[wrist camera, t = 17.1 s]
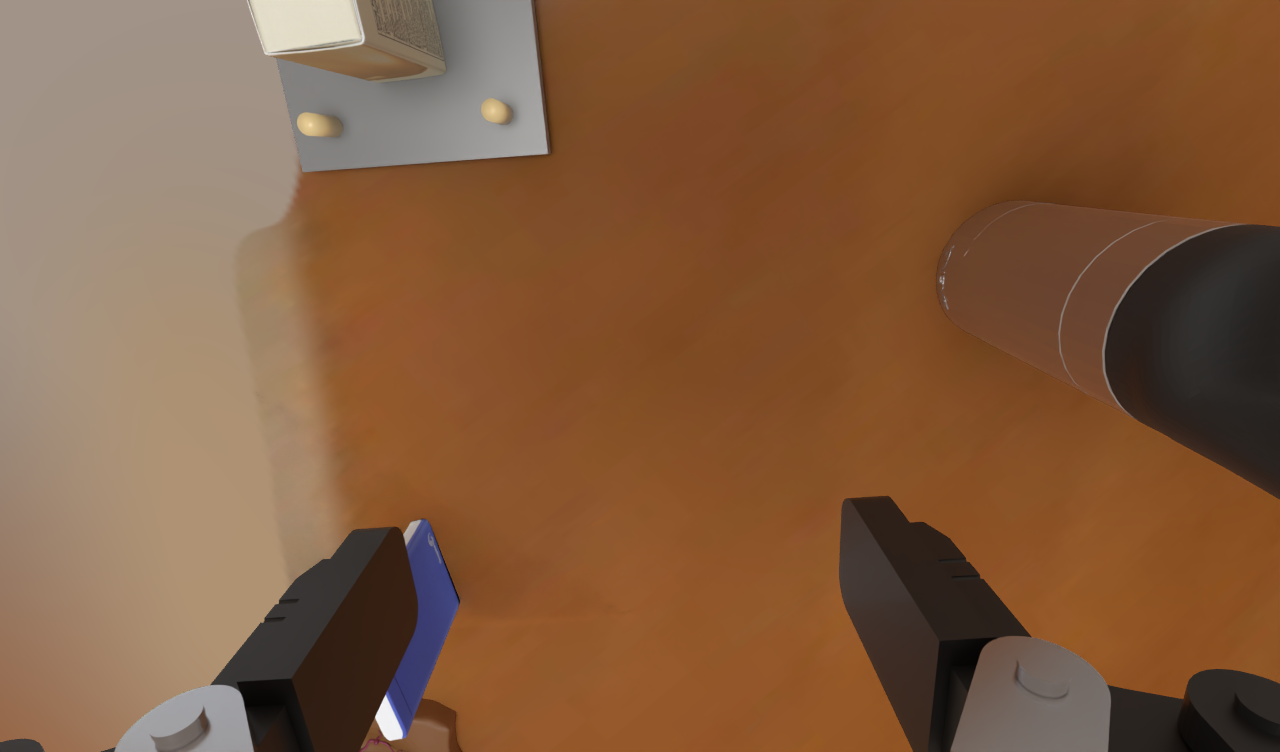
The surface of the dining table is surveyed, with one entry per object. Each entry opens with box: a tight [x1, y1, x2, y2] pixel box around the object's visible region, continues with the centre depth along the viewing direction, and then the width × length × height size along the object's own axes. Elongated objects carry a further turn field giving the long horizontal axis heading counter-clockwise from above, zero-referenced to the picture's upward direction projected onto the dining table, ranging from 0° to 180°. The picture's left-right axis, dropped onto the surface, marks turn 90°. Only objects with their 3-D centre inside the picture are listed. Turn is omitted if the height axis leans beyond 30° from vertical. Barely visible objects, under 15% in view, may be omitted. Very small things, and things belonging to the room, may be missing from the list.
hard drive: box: [375, 519, 460, 741], centre depth 43 cm, size 2×8×12 cm, turn 13°
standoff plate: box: [276, 0, 551, 172], centre depth 35 cm, size 15×15×4 cm
